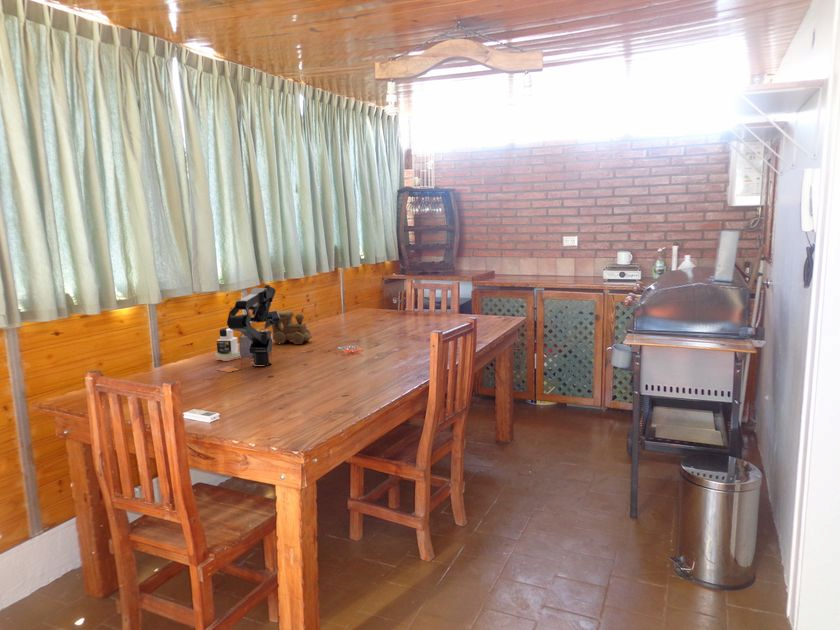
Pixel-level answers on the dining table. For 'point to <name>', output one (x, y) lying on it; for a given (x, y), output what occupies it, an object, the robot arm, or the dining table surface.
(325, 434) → the dining table surface
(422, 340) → the dining table surface
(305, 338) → the wooden toy train
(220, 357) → the base block
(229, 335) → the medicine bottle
